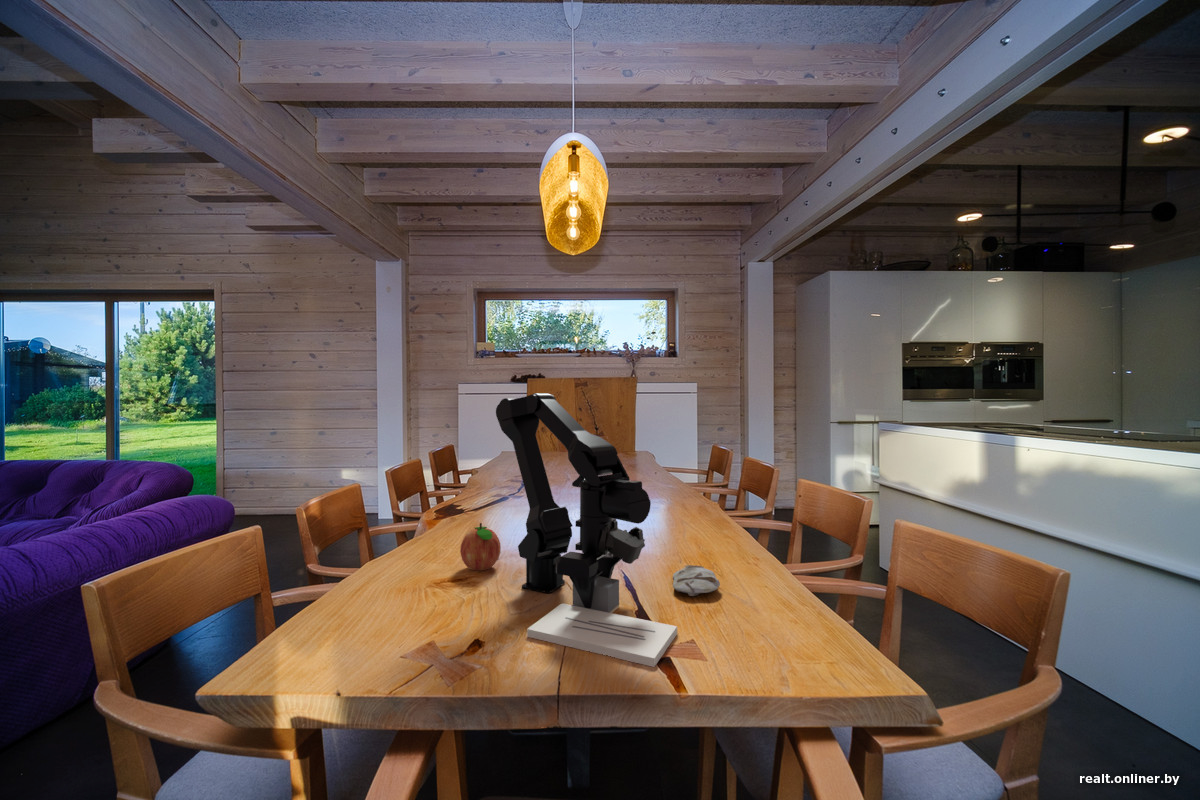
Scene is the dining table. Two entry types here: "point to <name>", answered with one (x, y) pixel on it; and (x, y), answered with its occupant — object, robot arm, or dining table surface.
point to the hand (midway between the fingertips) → (595, 602)
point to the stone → (695, 580)
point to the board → (605, 633)
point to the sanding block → (601, 595)
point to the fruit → (480, 548)
